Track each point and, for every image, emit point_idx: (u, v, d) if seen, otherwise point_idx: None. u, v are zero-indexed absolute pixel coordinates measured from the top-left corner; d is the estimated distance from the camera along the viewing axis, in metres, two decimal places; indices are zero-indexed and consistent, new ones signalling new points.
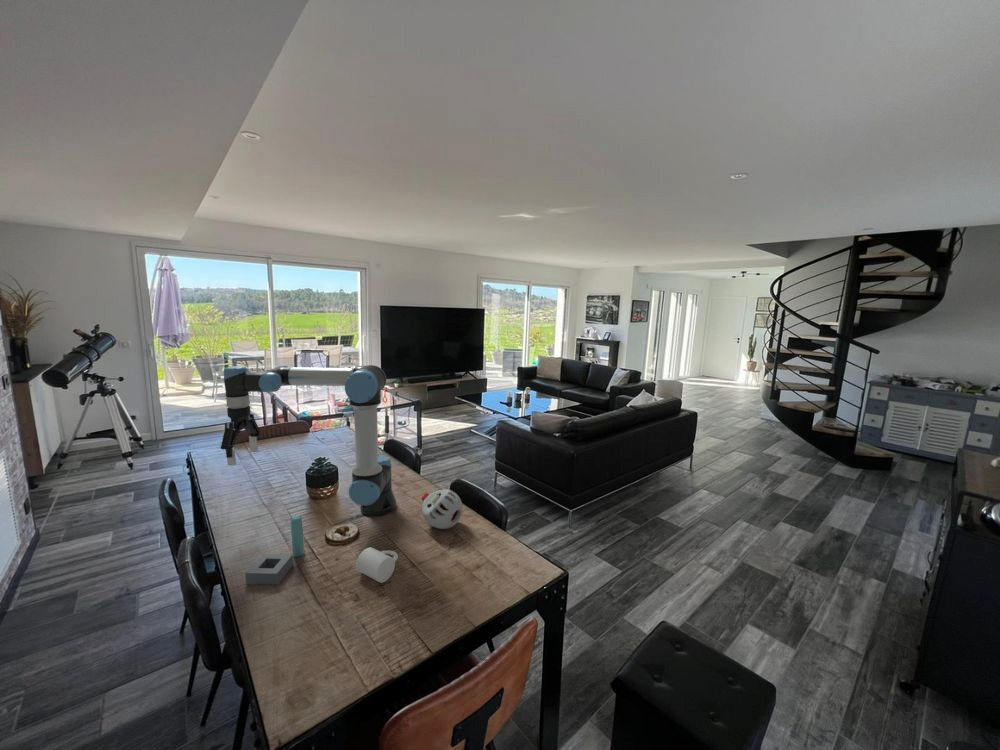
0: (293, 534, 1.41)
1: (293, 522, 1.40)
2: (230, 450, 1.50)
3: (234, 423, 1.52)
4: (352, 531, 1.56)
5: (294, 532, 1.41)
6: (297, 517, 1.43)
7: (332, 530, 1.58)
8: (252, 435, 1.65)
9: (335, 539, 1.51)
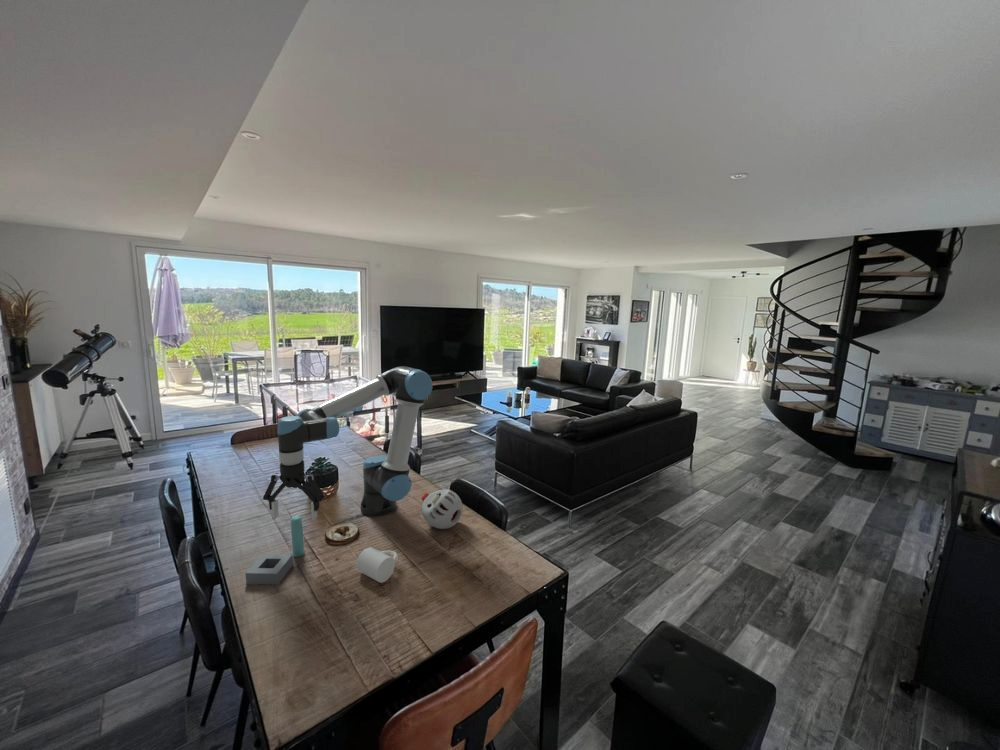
0: (293, 534, 1.41)
1: (293, 522, 1.40)
2: (270, 502, 1.40)
3: (279, 477, 1.39)
4: (352, 531, 1.56)
5: (294, 532, 1.41)
6: (297, 517, 1.43)
7: (332, 530, 1.58)
8: None
9: (335, 539, 1.51)
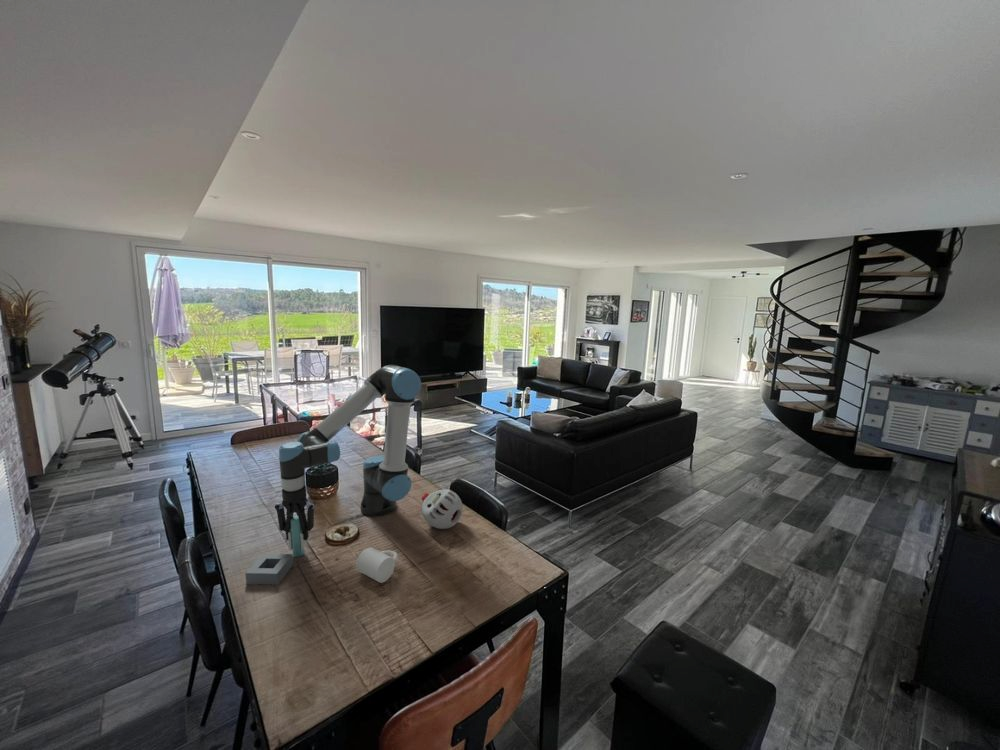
0: (293, 534, 1.41)
1: (293, 521, 1.40)
2: (287, 532, 1.42)
3: (282, 504, 1.40)
4: (352, 531, 1.56)
5: (294, 532, 1.41)
6: (297, 517, 1.43)
7: (332, 530, 1.58)
8: None
9: (335, 539, 1.51)
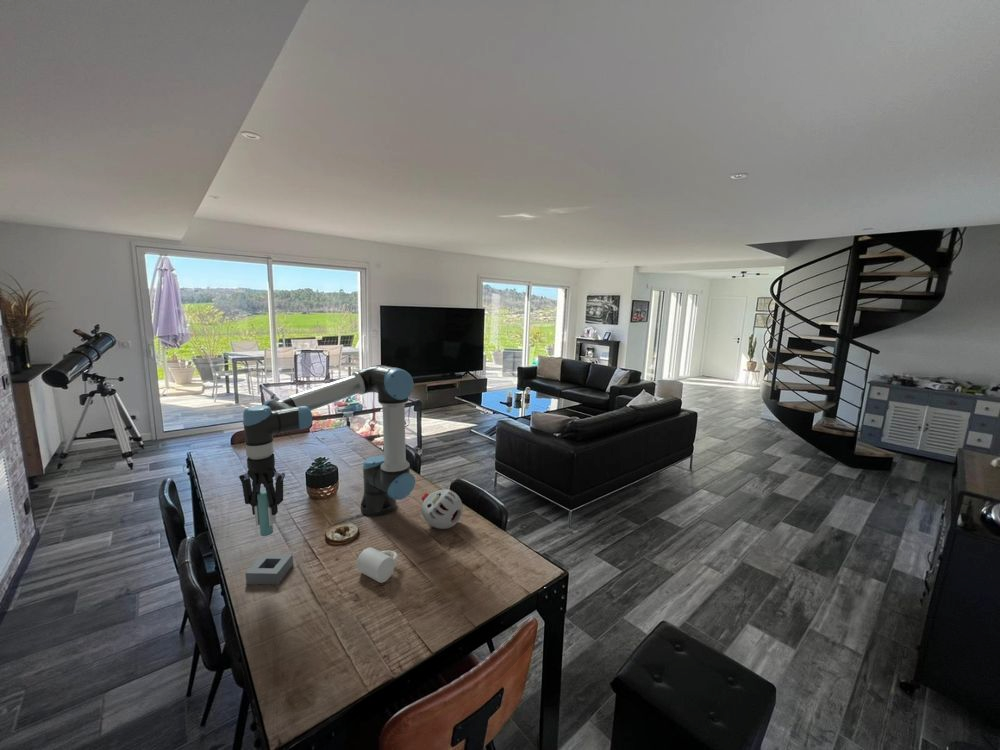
0: (260, 510, 1.28)
1: (260, 496, 1.27)
2: (253, 506, 1.29)
3: (247, 474, 1.27)
4: (352, 531, 1.56)
5: (261, 509, 1.28)
6: (265, 492, 1.29)
7: (332, 530, 1.58)
8: None
9: (335, 539, 1.51)
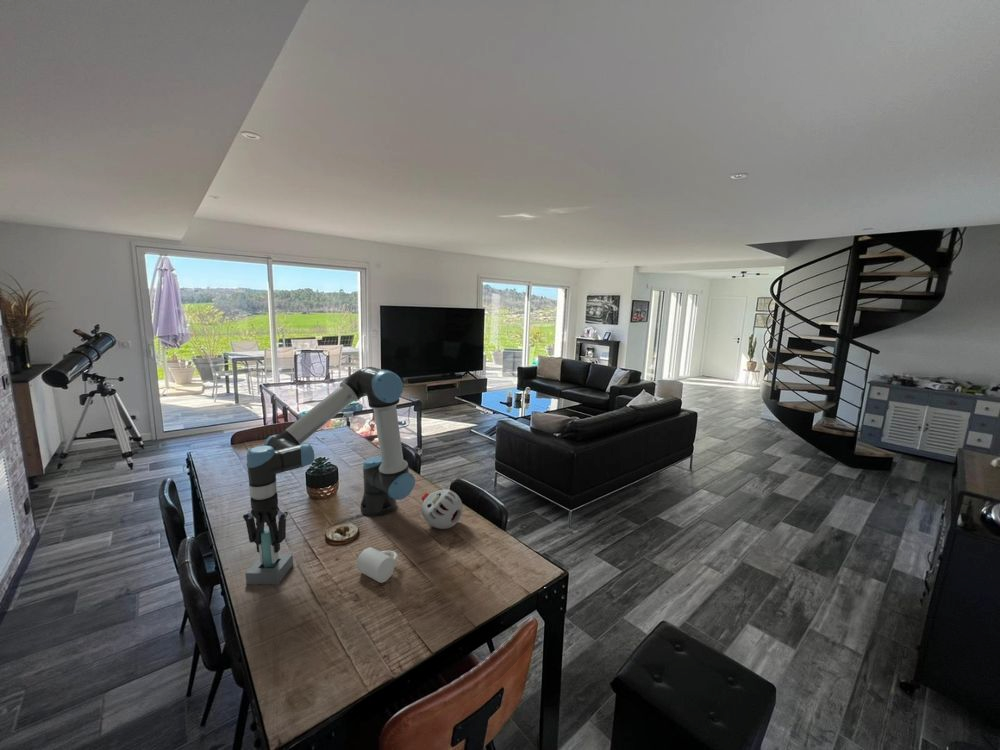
0: (264, 549, 1.30)
1: (264, 536, 1.29)
2: (257, 544, 1.31)
3: None
4: (352, 531, 1.56)
5: (265, 547, 1.30)
6: (268, 531, 1.32)
7: (332, 530, 1.58)
8: None
9: (335, 539, 1.51)
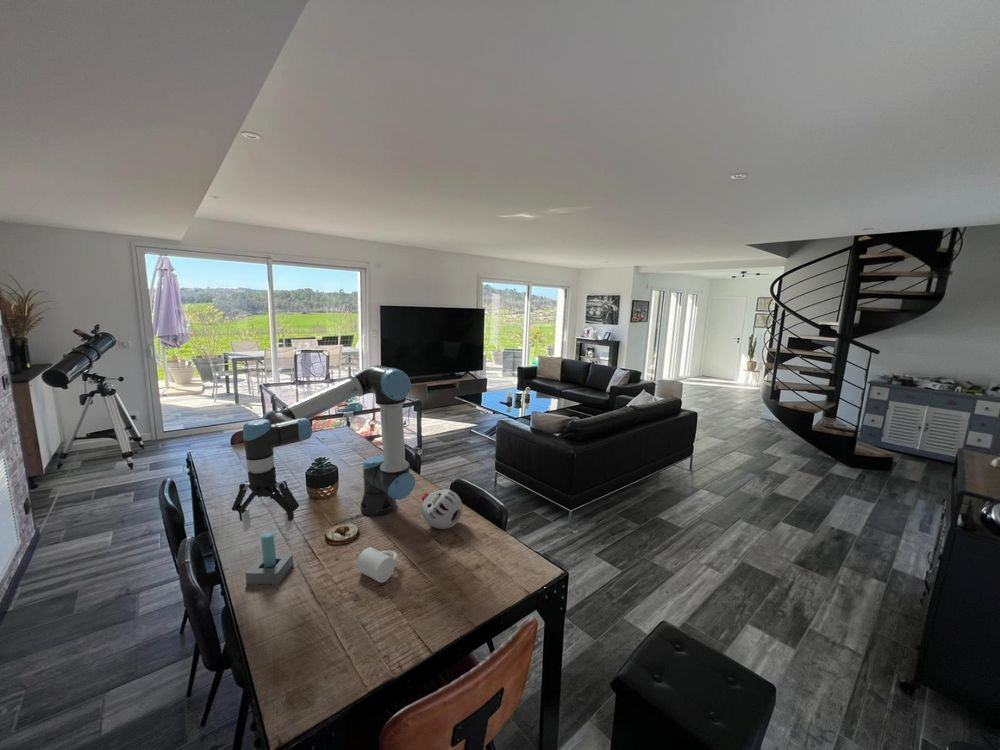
0: (264, 553, 1.30)
1: (264, 540, 1.29)
2: (240, 513, 1.29)
3: (248, 486, 1.27)
4: (352, 531, 1.56)
5: (265, 551, 1.30)
6: (269, 535, 1.32)
7: (332, 530, 1.58)
8: None
9: (335, 539, 1.51)
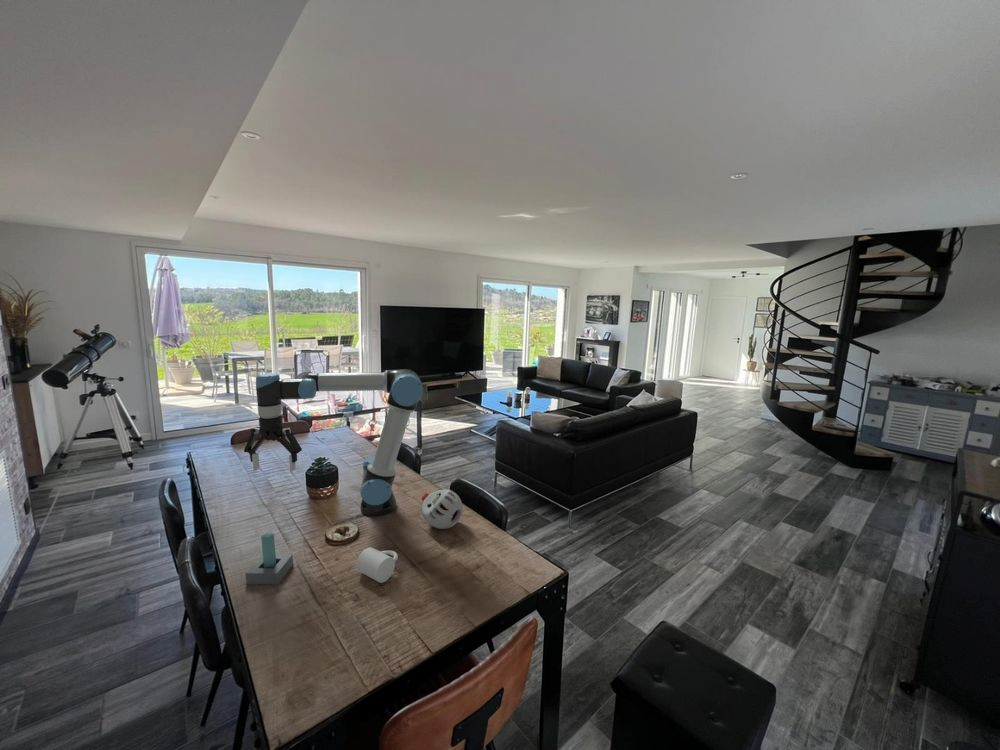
0: (264, 553, 1.30)
1: (264, 540, 1.30)
2: (251, 454, 1.50)
3: (259, 430, 1.48)
4: (352, 531, 1.56)
5: (266, 551, 1.30)
6: (269, 534, 1.32)
7: (332, 530, 1.58)
8: None
9: (335, 539, 1.51)
